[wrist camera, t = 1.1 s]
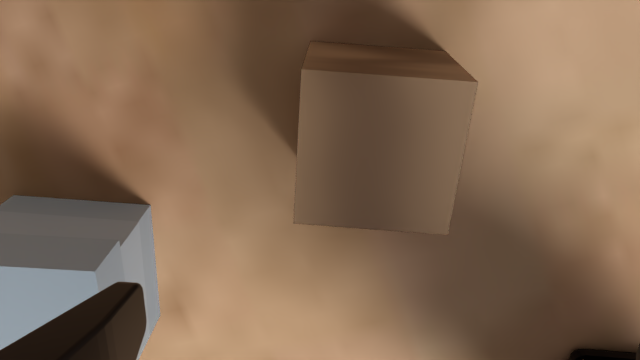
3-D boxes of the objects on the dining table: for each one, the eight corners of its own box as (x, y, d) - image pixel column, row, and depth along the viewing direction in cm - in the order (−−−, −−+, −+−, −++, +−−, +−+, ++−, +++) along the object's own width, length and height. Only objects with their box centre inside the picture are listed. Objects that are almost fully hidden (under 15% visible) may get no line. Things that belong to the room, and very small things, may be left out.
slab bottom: (154, 199, 22) (137, 222, 21) (163, 307, 25) (150, 336, 23) (19, 190, 22) (-9, 211, 21) (42, 299, 25) (19, 326, 23)
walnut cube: (444, 50, 19) (478, 82, 14) (424, 172, 21) (447, 235, 16) (310, 40, 19) (301, 69, 14) (303, 164, 21) (293, 223, 16)
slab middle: (139, 221, 21) (119, 248, 19) (150, 335, 23) (133, 369, 21) (-8, 210, 21) (-42, 235, 19) (19, 325, 23) (-8, 358, 21)
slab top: (119, 239, 19) (94, 271, 17) (136, 362, 21) (117, 401, 19) (-42, 230, 19) (-84, 261, 17) (-5, 354, 21) (-37, 392, 19)
